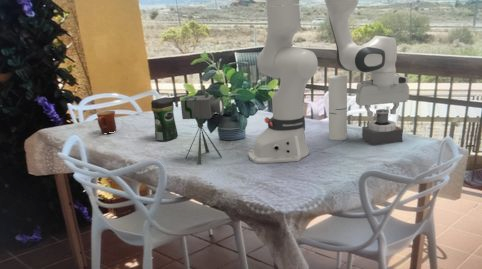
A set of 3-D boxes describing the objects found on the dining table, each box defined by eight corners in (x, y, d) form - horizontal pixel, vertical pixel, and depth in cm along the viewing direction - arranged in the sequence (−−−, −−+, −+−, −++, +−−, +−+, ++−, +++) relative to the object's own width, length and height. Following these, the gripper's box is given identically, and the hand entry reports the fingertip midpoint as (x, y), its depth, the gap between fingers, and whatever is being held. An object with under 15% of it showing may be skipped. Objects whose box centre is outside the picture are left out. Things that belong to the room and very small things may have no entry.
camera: (180, 165, 146) (171, 98, 139) (190, 151, 161) (184, 90, 154) (222, 165, 144) (216, 96, 137) (229, 151, 159) (224, 88, 152)
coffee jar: (169, 134, 188) (164, 95, 182) (180, 137, 182) (176, 96, 177) (152, 140, 181) (147, 99, 176) (163, 142, 176) (158, 101, 170)
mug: (105, 130, 204) (101, 110, 201) (121, 130, 203) (118, 110, 200) (93, 137, 193) (89, 116, 190) (110, 137, 191) (106, 116, 188)
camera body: (373, 145, 153) (373, 128, 151) (361, 138, 162) (361, 121, 160) (402, 142, 154) (403, 124, 152) (389, 135, 164) (390, 118, 162)
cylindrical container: (347, 140, 162) (347, 77, 155) (329, 140, 163) (328, 78, 156) (346, 134, 168) (346, 75, 161) (328, 135, 170) (328, 75, 163)
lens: (379, 130, 154) (379, 112, 152) (373, 127, 159) (373, 109, 157) (390, 128, 155) (390, 111, 153) (384, 126, 159) (384, 108, 157)
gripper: (360, 82, 147) (359, 119, 151) (412, 78, 150) (410, 114, 154) (353, 80, 153) (352, 115, 157) (403, 76, 156) (401, 111, 160)
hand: (381, 115), depth 155 cm, fingers open, 8 cm apart
